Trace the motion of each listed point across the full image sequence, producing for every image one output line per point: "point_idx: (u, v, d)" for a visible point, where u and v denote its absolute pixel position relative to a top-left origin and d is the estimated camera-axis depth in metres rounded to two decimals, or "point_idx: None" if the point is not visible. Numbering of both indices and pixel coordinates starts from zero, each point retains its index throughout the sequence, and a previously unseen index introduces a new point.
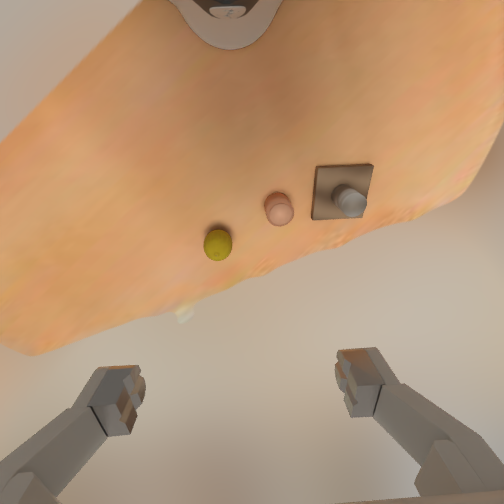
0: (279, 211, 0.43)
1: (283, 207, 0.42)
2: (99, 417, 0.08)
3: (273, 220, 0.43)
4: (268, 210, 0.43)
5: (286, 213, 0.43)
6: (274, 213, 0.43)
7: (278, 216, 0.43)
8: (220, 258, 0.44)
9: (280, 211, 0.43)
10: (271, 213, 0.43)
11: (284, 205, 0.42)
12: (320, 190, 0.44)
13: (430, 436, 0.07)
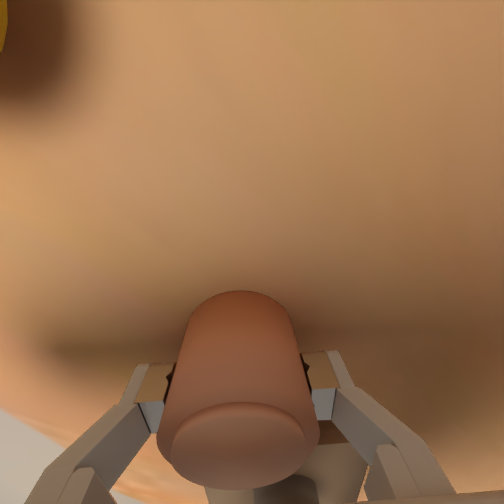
0: (260, 453, 0.07)
1: (285, 462, 0.07)
2: (145, 414, 0.08)
3: (195, 435, 0.06)
4: (260, 395, 0.06)
5: (247, 474, 0.07)
6: (246, 435, 0.07)
7: (226, 452, 0.07)
8: None
9: (263, 456, 0.07)
10: (246, 423, 0.06)
11: (295, 463, 0.07)
12: None
13: (378, 440, 0.07)
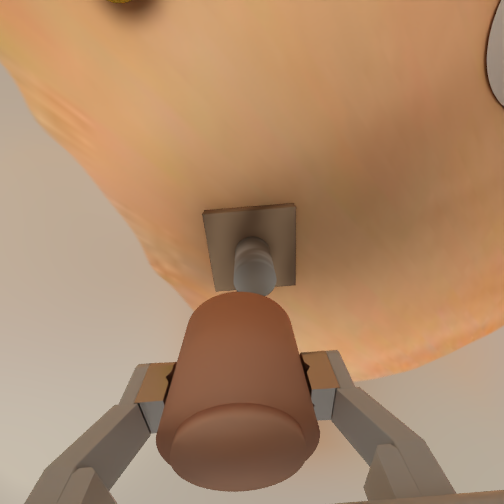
0: (260, 454, 0.07)
1: (285, 464, 0.07)
2: (145, 414, 0.08)
3: (195, 437, 0.06)
4: (259, 396, 0.06)
5: (247, 476, 0.07)
6: (245, 436, 0.07)
7: (226, 454, 0.07)
8: None
9: (262, 457, 0.07)
10: (245, 425, 0.06)
11: (295, 464, 0.07)
12: (258, 217, 0.26)
13: (378, 440, 0.07)
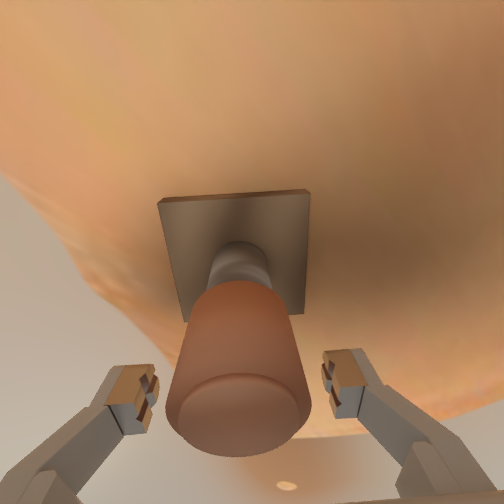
0: (258, 420, 0.08)
1: (281, 429, 0.08)
2: (116, 416, 0.08)
3: (201, 402, 0.07)
4: (257, 366, 0.07)
5: (246, 441, 0.08)
6: (245, 402, 0.07)
7: (228, 419, 0.08)
8: None
9: (260, 422, 0.08)
10: (245, 391, 0.07)
11: (289, 430, 0.08)
12: (249, 210, 0.16)
13: (411, 437, 0.07)
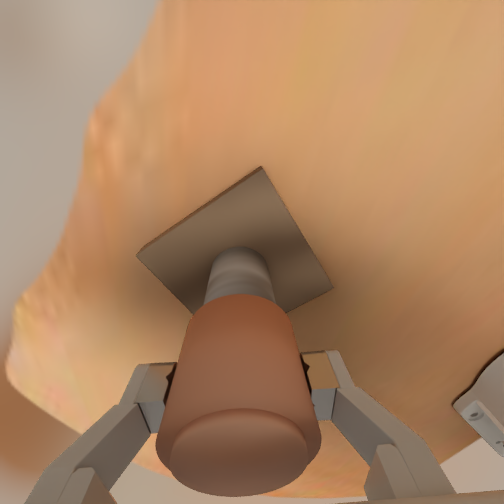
0: (258, 472, 0.07)
1: (252, 486, 0.08)
2: (145, 414, 0.08)
3: (256, 432, 0.06)
4: (313, 433, 0.07)
5: (214, 478, 0.07)
6: (277, 455, 0.07)
7: (244, 456, 0.07)
8: None
9: (253, 473, 0.07)
10: (294, 449, 0.07)
11: (253, 491, 0.08)
12: (298, 253, 0.16)
13: (378, 440, 0.07)
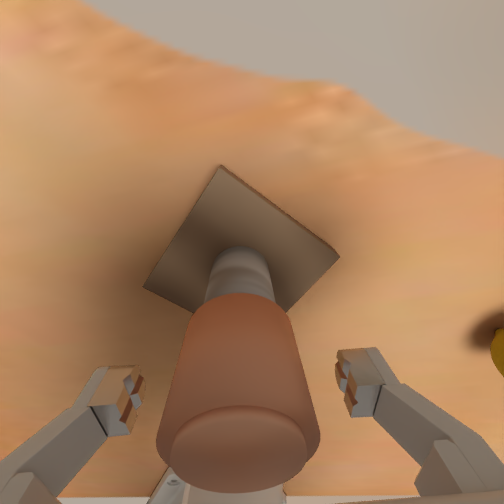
0: (257, 468, 0.07)
1: (251, 484, 0.08)
2: (99, 417, 0.08)
3: (256, 428, 0.06)
4: (312, 431, 0.07)
5: (213, 474, 0.07)
6: (277, 452, 0.07)
7: (244, 453, 0.07)
8: None
9: (252, 470, 0.07)
10: (293, 446, 0.07)
11: (252, 488, 0.08)
12: None
13: (431, 436, 0.07)
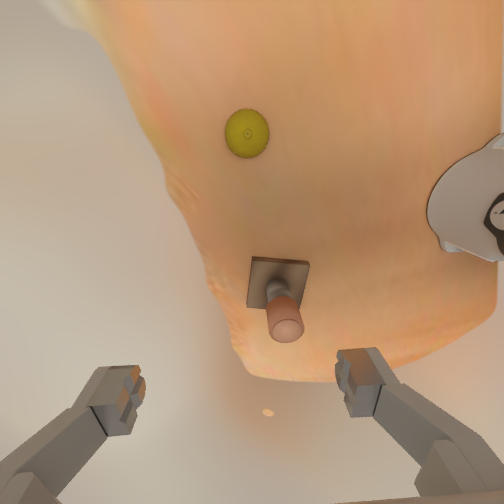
0: (288, 328, 0.33)
1: (295, 326, 0.33)
2: (99, 417, 0.08)
3: (275, 334, 0.33)
4: (275, 320, 0.33)
5: (294, 333, 0.33)
6: (281, 327, 0.33)
7: (283, 332, 0.33)
8: (237, 138, 0.27)
9: (289, 328, 0.33)
10: (277, 326, 0.33)
11: (297, 324, 0.33)
12: (286, 268, 0.41)
13: (431, 436, 0.07)
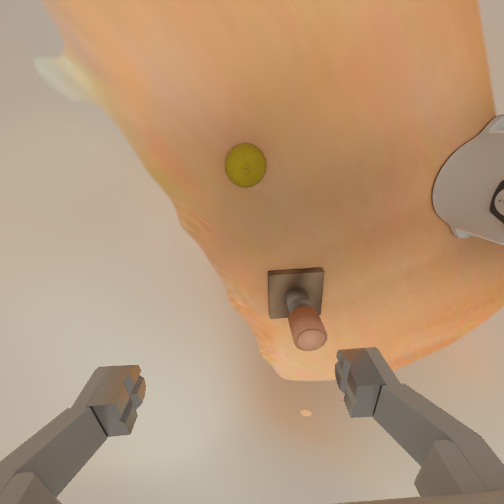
0: (311, 337, 0.35)
1: (317, 334, 0.35)
2: (99, 417, 0.08)
3: (300, 344, 0.35)
4: (299, 332, 0.35)
5: (318, 341, 0.35)
6: (304, 337, 0.35)
7: (307, 342, 0.35)
8: (237, 174, 0.29)
9: (313, 337, 0.35)
10: (301, 337, 0.35)
11: (319, 333, 0.35)
12: (301, 277, 0.43)
13: (431, 436, 0.07)
